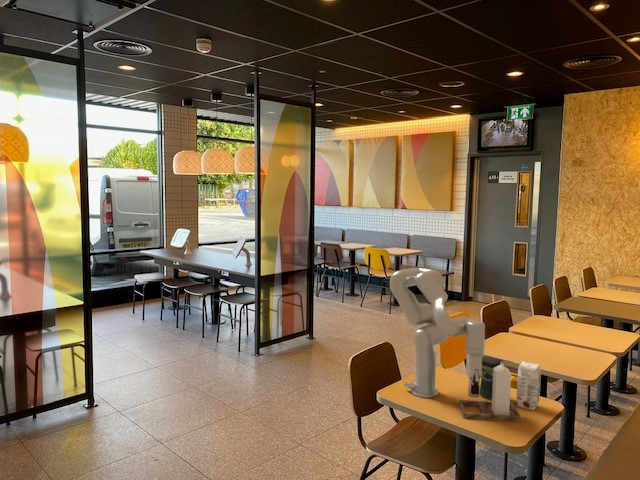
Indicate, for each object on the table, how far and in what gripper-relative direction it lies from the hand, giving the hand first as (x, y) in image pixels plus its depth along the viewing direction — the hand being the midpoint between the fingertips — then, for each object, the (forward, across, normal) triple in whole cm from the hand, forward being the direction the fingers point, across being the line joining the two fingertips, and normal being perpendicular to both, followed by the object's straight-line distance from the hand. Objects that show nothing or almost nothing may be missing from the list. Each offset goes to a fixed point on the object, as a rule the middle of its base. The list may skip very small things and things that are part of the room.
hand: (473, 391), depth 204 cm
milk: (+10, 0, +11) cm, 15 cm away
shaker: (+2, 0, 0) cm, 2 cm away
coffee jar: (+9, -17, +11) cm, 23 cm away
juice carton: (+10, -9, +25) cm, 28 cm away
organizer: (+9, 0, +6) cm, 11 cm away
